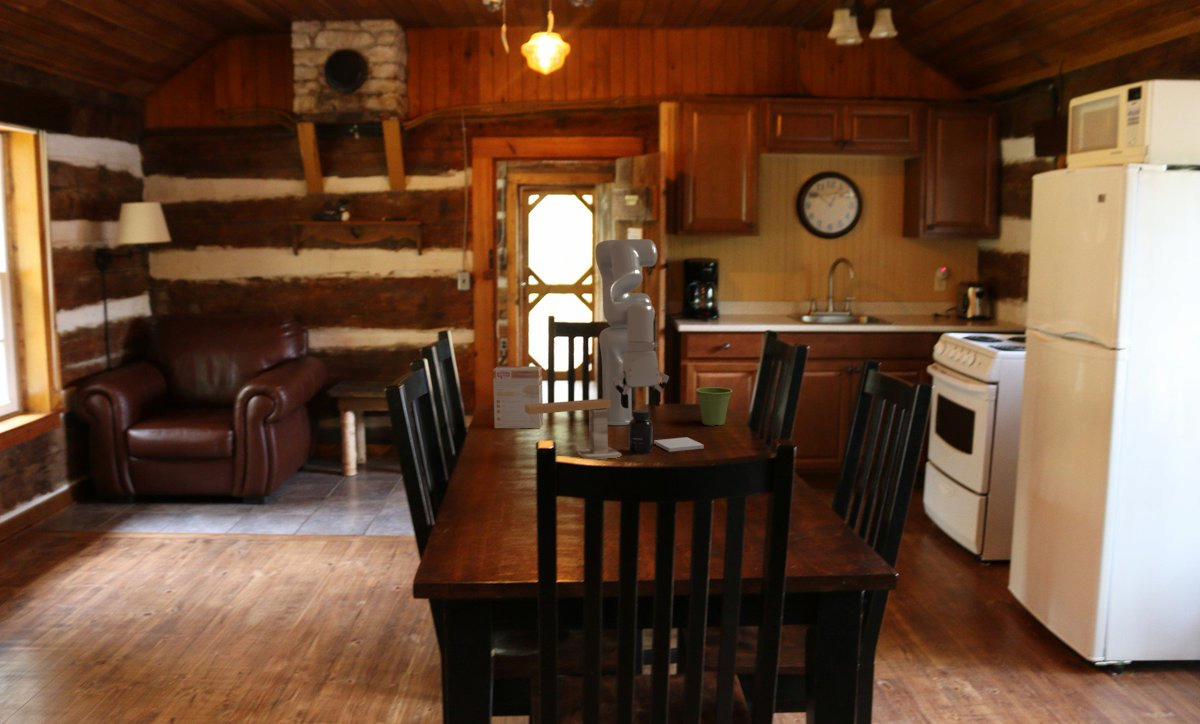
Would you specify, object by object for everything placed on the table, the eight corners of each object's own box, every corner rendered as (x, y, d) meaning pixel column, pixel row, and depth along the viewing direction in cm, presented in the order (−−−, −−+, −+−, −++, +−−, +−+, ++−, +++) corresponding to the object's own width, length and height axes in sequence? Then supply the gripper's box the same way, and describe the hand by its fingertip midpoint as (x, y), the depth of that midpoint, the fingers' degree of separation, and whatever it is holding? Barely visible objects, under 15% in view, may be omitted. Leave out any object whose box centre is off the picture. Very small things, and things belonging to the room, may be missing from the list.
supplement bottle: (632, 455, 283) (632, 413, 281) (625, 449, 289) (625, 409, 287) (655, 453, 284) (655, 412, 283) (648, 448, 291) (648, 408, 289)
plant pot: (730, 428, 317) (731, 393, 315) (693, 427, 319) (693, 392, 317) (733, 420, 328) (733, 387, 327) (697, 419, 331) (697, 386, 329)
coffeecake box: (543, 424, 325) (542, 365, 322) (540, 429, 318) (538, 369, 315) (498, 424, 326) (497, 365, 324) (494, 428, 319) (492, 369, 317)
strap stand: (576, 453, 285) (575, 406, 283) (608, 450, 289) (608, 404, 287) (588, 461, 276) (587, 413, 274) (621, 457, 279) (621, 410, 277)
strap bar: (525, 411, 275) (524, 404, 274) (605, 405, 283) (605, 398, 283) (529, 414, 271) (529, 407, 271) (610, 407, 279) (610, 400, 279)
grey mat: (653, 443, 296) (653, 440, 296) (687, 440, 300) (687, 437, 300) (669, 451, 286) (669, 448, 286) (703, 448, 290) (703, 444, 290)
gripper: (662, 344, 289) (663, 402, 291) (607, 347, 283) (608, 406, 285) (673, 346, 282) (673, 406, 284) (617, 350, 276) (617, 410, 278)
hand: (640, 406), depth 284 cm, fingers open, 9 cm apart
